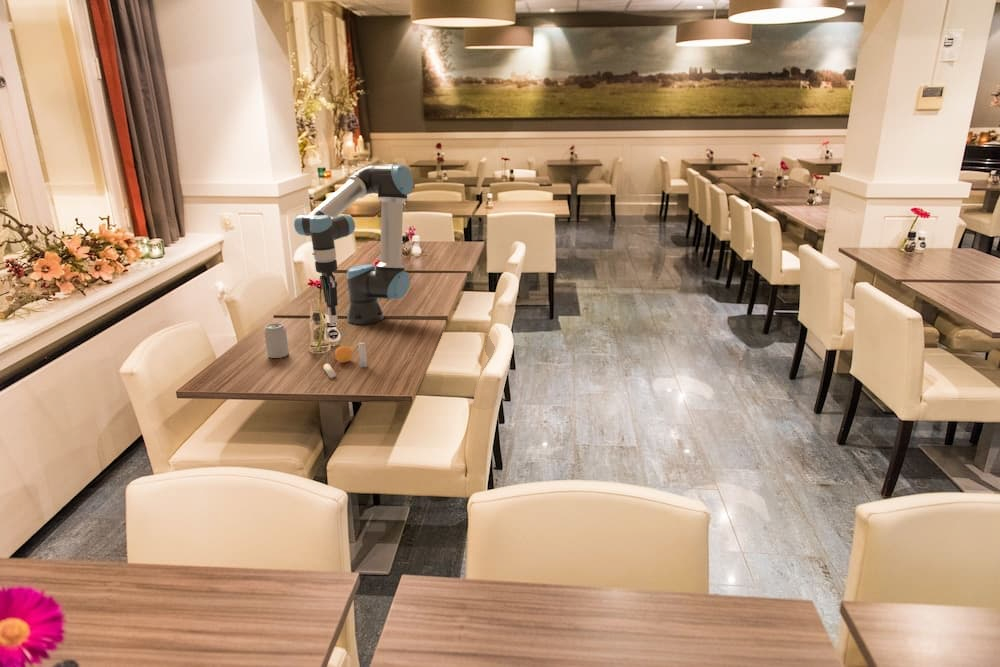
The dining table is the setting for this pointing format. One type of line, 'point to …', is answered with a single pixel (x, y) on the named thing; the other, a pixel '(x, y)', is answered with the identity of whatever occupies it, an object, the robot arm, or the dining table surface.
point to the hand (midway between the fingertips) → (333, 322)
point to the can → (276, 340)
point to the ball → (343, 354)
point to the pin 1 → (329, 370)
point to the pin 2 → (362, 354)
